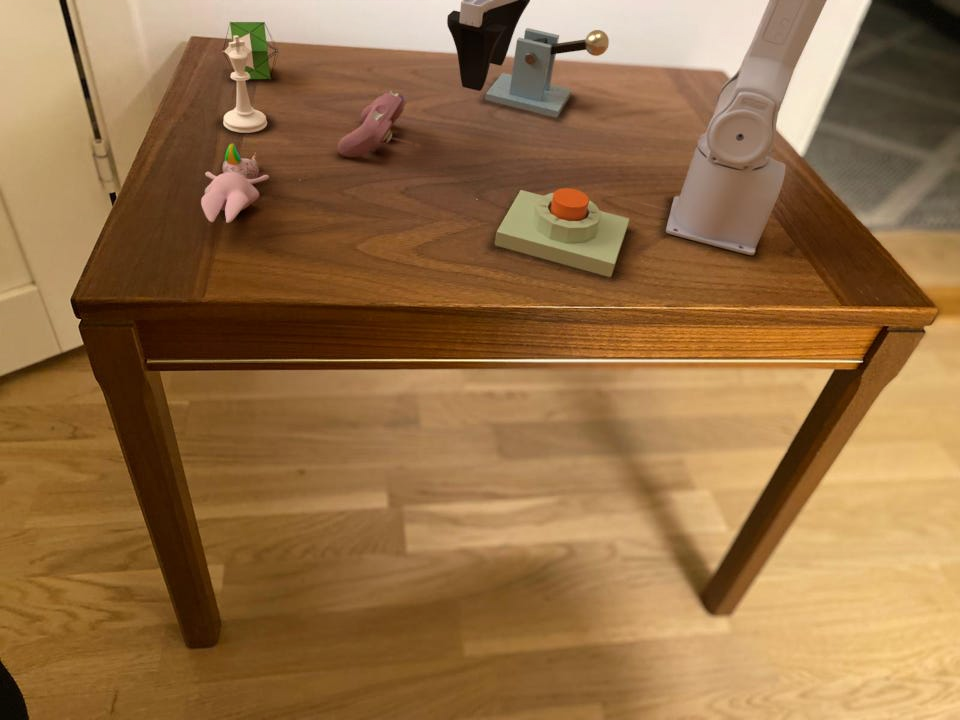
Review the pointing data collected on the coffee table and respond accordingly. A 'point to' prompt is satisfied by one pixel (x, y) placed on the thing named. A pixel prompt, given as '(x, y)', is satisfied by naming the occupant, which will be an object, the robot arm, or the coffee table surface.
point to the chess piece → (242, 96)
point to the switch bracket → (531, 77)
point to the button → (569, 204)
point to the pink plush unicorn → (232, 186)
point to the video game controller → (373, 125)
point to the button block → (562, 234)
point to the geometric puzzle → (253, 48)
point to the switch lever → (582, 44)
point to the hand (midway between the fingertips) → (483, 75)
